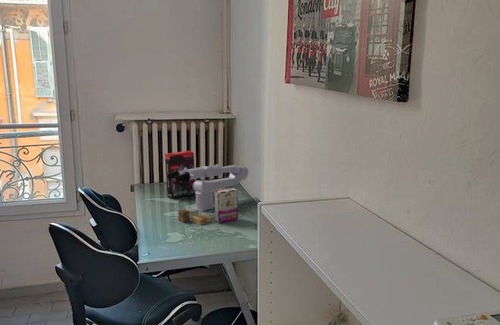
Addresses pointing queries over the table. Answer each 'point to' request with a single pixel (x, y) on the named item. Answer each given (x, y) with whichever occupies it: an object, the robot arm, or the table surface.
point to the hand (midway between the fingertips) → (171, 177)
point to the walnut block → (183, 215)
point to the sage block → (193, 212)
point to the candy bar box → (226, 205)
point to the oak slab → (201, 219)
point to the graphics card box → (179, 162)
